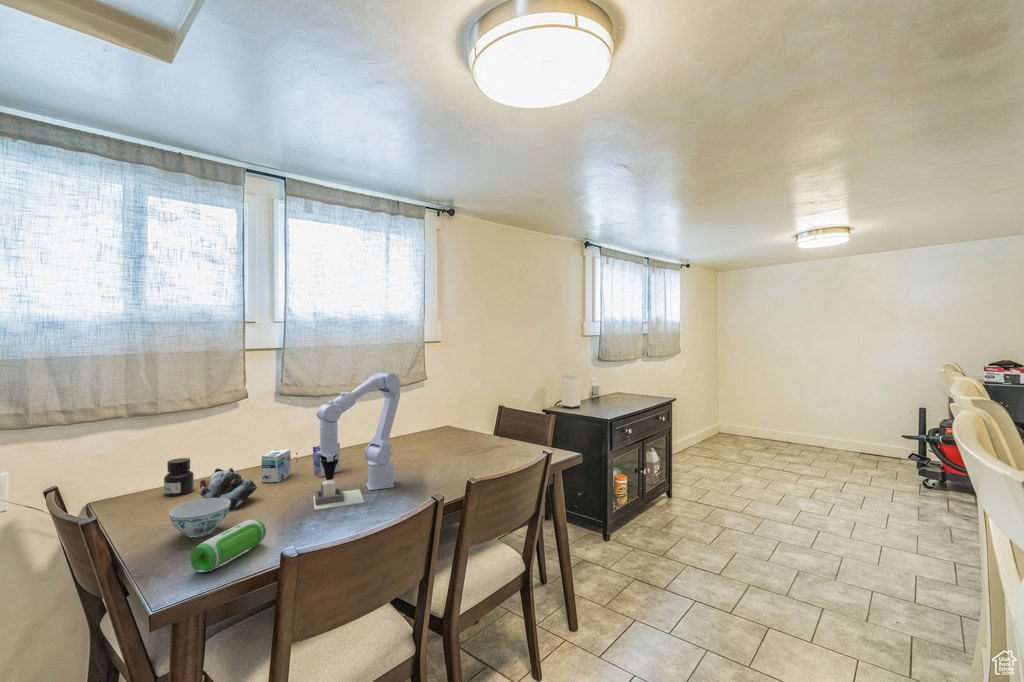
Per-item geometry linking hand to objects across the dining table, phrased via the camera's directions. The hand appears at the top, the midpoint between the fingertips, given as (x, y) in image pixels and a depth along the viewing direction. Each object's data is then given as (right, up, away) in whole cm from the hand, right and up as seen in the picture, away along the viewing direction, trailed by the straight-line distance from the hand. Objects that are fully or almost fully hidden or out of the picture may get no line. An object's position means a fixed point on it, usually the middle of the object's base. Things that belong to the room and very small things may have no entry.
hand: (329, 476), depth 161 cm
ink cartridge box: (-13, -8, +31) cm, 35 cm away
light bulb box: (-31, -8, +24) cm, 40 cm away
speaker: (-9, -9, -41) cm, 43 cm away
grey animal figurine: (-33, -9, -4) cm, 34 cm away
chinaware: (-27, -9, -26) cm, 39 cm away
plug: (0, -8, 0) cm, 8 cm away
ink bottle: (-59, -9, +8) cm, 60 cm away
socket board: (+3, -8, 0) cm, 9 cm away
